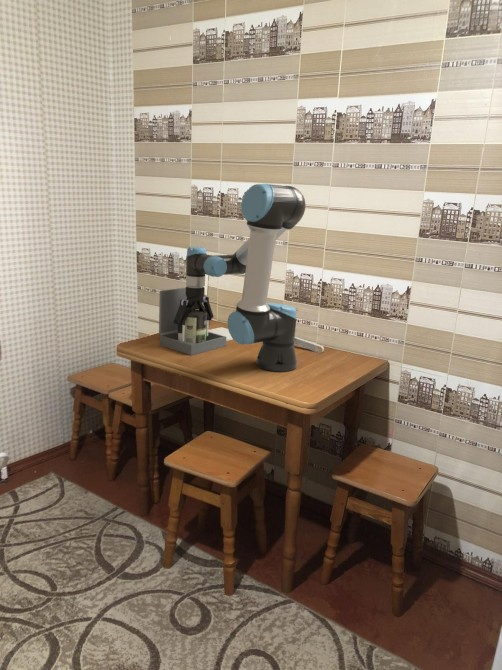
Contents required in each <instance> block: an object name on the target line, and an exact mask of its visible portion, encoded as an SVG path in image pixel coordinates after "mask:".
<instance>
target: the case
mask: <svg viewBox="0 0 502 670" xmlns="http://www.w3.org/2000/svg"><path fill="white" fill-rule="evenodd" d="M181 299H182V300H186V299H187V296H186V286H185V287H178V288H177V287H176V288H169V289H164V290H159V300H158V301H159V303H158V304H159V308H158V310H159V311H158V312H159V313H158V314H159V315H158V335H159V346H162V347H164V348H168V349H171V350H174V351H177V352H180V353H182V354H186V355H190V356H194V355H197V354H201V353H205V352H209V351H213V350H217V349H220V348H224V347H227V341H226V336H222V335H219V334H215V333H211V332H208V336H206V341H204V342H200V343H196V344H192V345H191V344H188V343H185V342H182V341H179V340H178V332H177V330H178V325H177V324H174V323H173V322H174V319H175V316H176V314H177V311H178V309H179V306H180V300H181ZM188 308H189V307H188Z"/></svg>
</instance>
